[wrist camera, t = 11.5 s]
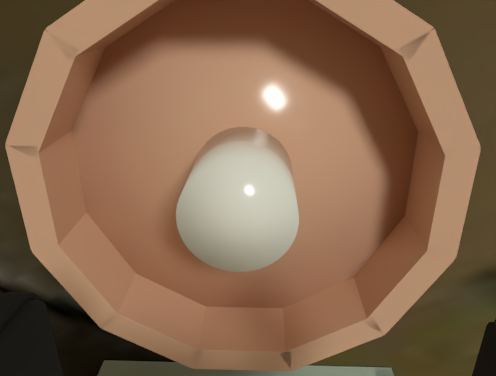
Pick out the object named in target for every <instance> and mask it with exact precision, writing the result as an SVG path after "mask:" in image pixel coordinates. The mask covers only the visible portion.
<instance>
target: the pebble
mask: <svg viewBox="0 0 496 376" xmlns="http://www.w3.org/2000/svg"><path fill="white" fill-rule="evenodd" d="M176 223H177V228H178V231H179V234H180V236H181V238H182V240H183V242H184V244H185V245H186V246H187V248H188V249H189V250H190V251H191V252H192V253H193V254H194V255H195V256H196V257H197V258H199V259H200V260H201V261H203V262H205V263H206V264H208V265H210V266H213V267H215V268H218V269H221V270H226V271H232V272H247V271H253V270H257V269H261V268H263V267H266V266H268V265H270V264H272V263H274V262H275V261H277V260H278V259H279V258H281V257H282V256H283V255H284V254H285V253H286V252H287V250H288V249H289V248H290V246H291V245H292V243H293V242H294V239H295V237H296V234H297V231H298V226H299V212H298V205H297V198H296V191H295V184H294V177H293V171H292V164H291V161H290V157H289V155H288V153H287V151H286V150H285V148H284V147H283V145H282V144H281V143H280V142H279V141H278V140H277V139H276V138H274V137H273V136H272V135H270V134H268V133H266V132H264V131H262V130H259V129H256V128H251V127H234V128H229V129H226V130H223V131H221V132H219V133H217V134H216V135H214V136H213V137H211V138H210V139H209V140H208V141H207V142H206V143H205V144H204V146H203V147H202V149H201V150H200V152H199V154H198V157H197V159H196V161H195V163H194V166H193V168H192V170H191V172H190V175H189V177H188V179H187V181H186V184H185V186H184V188H183V190H182V193H181V195H180V197H179V200H178V203H177V208H176Z"/></svg>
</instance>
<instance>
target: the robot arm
mask: <svg viewBox="0 0 496 376" xmlns="http://www.w3.org/2000/svg"><path fill="white" fill-rule="evenodd" d="M0 376H64V375H63V371H62V367H61V363H60V359H59V355H58V351H57V347H56V344H55V340H54V336H53V332H52V328H51V324H50V320H49V316H48V312H47V308H46V305H45V303H44V302H43V301H41V300H39V298H38V296H37V295H36V294H33V293H17V292H8V293H5V294H4V295H2V296H1V297H0ZM472 376H496V320H495V322H489V323H488V324H487V327H486V330H485V333H484V337H483V340H482V343H481V347H480V350H479V354H478V357H477V361H476V364H475V367H474V371H473V374H472Z"/></svg>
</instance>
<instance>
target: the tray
mask: <svg viewBox="0 0 496 376" xmlns="http://www.w3.org/2000/svg"><path fill="white" fill-rule="evenodd" d="M97 376H394V374H393V371H392V369H391V368H385V367H347V366H308V365H307V366H304V367H301V368H299V369H296V370H294V371H255V370H217V369H193V367H192V368H189V367H187V366H185V365H182V364H180V363H178V362H153V361H114V360H104V362H103V364H102V366H101V369H100V371H99V373H98V375H97Z"/></svg>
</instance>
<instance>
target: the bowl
mask: <svg viewBox="0 0 496 376" xmlns="http://www.w3.org/2000/svg"><path fill="white" fill-rule="evenodd" d="M234 127H251V128H256V129H259V130H262V131H264V132H266V133H268V134H270V135H272V136H273V137H274V138H276V139H277V140H278V141H279V142H280V143H281V144H282V145H283V147H284V148H285V150H286V151H287V153H288V155H289V157H290V161H291V164H292V171H293V177H294V184H295V191H296V198H297V205H298V212H299V226H298V231H297V234H296V237H295V239H294V242H293V243H292V245H291V246H290V248H289V249H288V250H287V252H286V253H285V254H284V255H283V256H282V257H281V258H279V259H278V260H277V261H275V262H274V263H272V264H270V265H268V266H266V267H263V268H261V269H257V270H253V271H247V272H232V271H226V270H221V269H218V268H215V267H213V266H210V265H208V264H206V263H205V262H203V261H201V260H200V259H199V258H197V257H196V256H195V255H194V254H193V253H192V252H191V251H190V250H189V249H188V248H187V246H186V245H185V244H184V242H183V240H182V238H181V236H180V234H179V231H178V228H177V223H176V208H177V203H178V200H179V197H180V195H181V193H182V190H183V188H184V186H185V184H186V181H187V179H188V177H189V175H190V172H191V170H192V168H193V166H194V163H195V161H196V159H197V157H198V154H199V152H200V150H201V149H202V147H203V146H204V144H205V143H206V142H207V141H208V140H209V139H210V138H211V137H213V136H214V135H216V134H217V133H219V132H221V131H223V130H226V129H229V128H234ZM5 144H6V145H5V147H6V151H7V155H8V159H9V163H10V167H11V171H12V175H13V179H14V183H15V187H16V191H17V195H18V199H19V203H20V207H21V211H22V215H23V219H24V223H25V227H26V231H27V235H28V240H29V244H30V248H31V251H33V252H32V253H33V254H34V255H35V256H36V257H37V258H38V259H39V260H40V262H41V263H42V264H43V265H44V266H45V267H46V268H47V269H48V270H49V272H50V273H51V274H52V275H53V276H54V277H55V278H56V279H57V280H58V282H59V283H60V284H61V285H62V286H63V287H64V288H65V289H66V290H67V291H68V293H69V294H70V295H71V296H72V297H73V298H74V299H75V300H76V301H77V303H78V304H79V305H80V306H81V307H82V308H83V309H84V310H85V311H86V313H87V314H88V315H89V316H90V317H91V318H92V319H93V320H94V321H95V323H96V324H97V325H98V326H99V327H100V328H101V327H102V328H101V329H103V330H106V331H108V332H110V333H112V334H115V335H117V336H119V337H121V338H124V339H126V340H128V341H130V342H133V343H135V344H137V345H139V346H142V347H144V348H146V349H149V350H151V351H153V352H155V353H158V354H160V355H162V356H164V357H167V358H169V359H171V360H173V361H176V362H178V363H180V364H182V365H185V366H187V367H189V368H192V367H193V369H217V370H255V371H294V370H296V369H299V368H301V367H304V366H307V365H309V364H312V363H314V362H317V361H319V360H322V359H324V358H327V357H330V356H332V355H335V354H337V353H340V352H342V351H345V350H347V349H350V348H353V347H355V346H358V345H360V344H363V343H365V342H368V341H370V340H373V339H376V338H378V337H381V336H383V335H384V334H386V333H387V332H388V331H389V330H390V329H391V328H392V327H393V326H394V324H395V323H396V322H397V321H398V320H399V319H400V318H401V317H402V316H403V315H404V314H405V313H406V312H407V311H408V309H409V308H410V307H411V306H412V305H413V304H414V303H415V302H416V301H417V300H418V299H419V298H420V297H421V295H422V294H423V293H424V292H425V291H426V290H427V289H428V288H429V287H430V286H431V285H432V284H433V283H434V282H435V280H436V279H437V278H438V277H439V276H440V275H441V274H442V273H443V272H444V271H445V270H446V269H447V268H448V266H449V265H450V264H451V263H452V262H453V261H454V260H455V258H456V256H457V252H458V247H459V243H460V239H461V234H462V230H463V225H464V221H465V217H466V212H467V208H468V203H469V199H470V195H471V190H472V186H473V181H474V177H475V173H476V168H477V164H478V159H479V155H480V150H481V149H480V147H481V146H480V144H479V141H478V139H477V136H476V134H475V131H474V128H473V126H472V123H471V121H470V118H469V116H468V113H467V111H466V108H465V105H464V103H463V100H462V98H461V95H460V93H459V90H458V87H457V85H456V82H455V80H454V77H453V75H452V72H451V69H450V67H449V64H448V62H447V59H446V57H445V54H444V52H443V49H442V46H441V44H440V41H439V39H438V36H437V34H436V31H435V29H434V28H433V27H432V26H431V25H429V24H428V23H426V22H425V21H423V20H422V19H420V18H419V17H417V16H416V15H414V14H413V13H411V12H410V11H408V10H407V9H405V8H404V7H402V6H401V5H399V4H398V3H396V2H395V1H394V0H85V1H83V2H82V3H81V4H79V5H78V6H76V7H75V8H74V9H72V10H71V11H69V12H68V13H67V14H65V15H64V16H62V17H61V18H60V19H58V20H57V21H55V22H54V23H53V24H51V25H50V26H48V27H47V28H46V30H44V33H43V36H42V39H41V42H40V44H39V47H38V50H37V53H36V56H35V59H34V62H33V65H32V68H31V71H30V74H29V76H28V79H27V82H26V85H25V88H24V91H23V94H22V97H21V100H20V103H19V105H18V108H17V111H16V114H15V117H14V120H13V123H12V126H11V129H10V132H9V135H8V137H7V140H6V143H5Z"/></svg>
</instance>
